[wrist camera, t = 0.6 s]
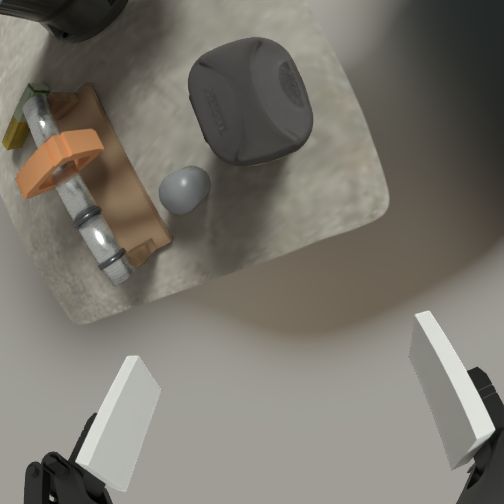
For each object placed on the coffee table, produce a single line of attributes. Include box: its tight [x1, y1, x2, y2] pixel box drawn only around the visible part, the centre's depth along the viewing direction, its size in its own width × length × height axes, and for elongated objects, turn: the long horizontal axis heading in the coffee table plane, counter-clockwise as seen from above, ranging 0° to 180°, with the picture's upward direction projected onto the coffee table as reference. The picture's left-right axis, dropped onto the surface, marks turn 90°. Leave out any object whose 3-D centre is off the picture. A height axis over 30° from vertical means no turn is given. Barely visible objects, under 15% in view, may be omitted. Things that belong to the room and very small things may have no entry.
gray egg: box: [159, 166, 210, 214], centre depth 34 cm, size 5×5×6 cm
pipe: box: [23, 94, 136, 286], centre depth 29 cm, size 27×4×4 cm, turn 27°
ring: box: [15, 129, 104, 199], centre depth 28 cm, size 3×10×10 cm, turn 116°
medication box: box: [2, 83, 50, 150], centre depth 32 cm, size 12×3×4 cm, turn 135°
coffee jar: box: [188, 37, 313, 166], centre depth 24 cm, size 10×8×19 cm
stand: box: [47, 83, 173, 268], centre depth 34 cm, size 27×9×7 cm, turn 27°
